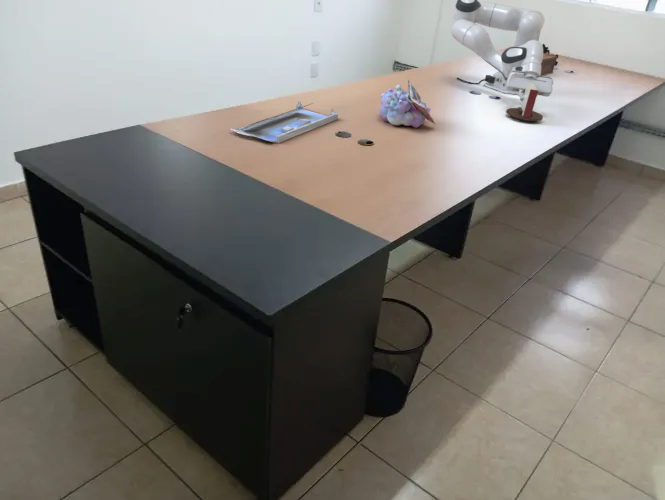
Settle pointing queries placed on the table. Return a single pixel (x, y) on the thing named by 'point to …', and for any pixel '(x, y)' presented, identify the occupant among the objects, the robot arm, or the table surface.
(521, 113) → the upright block on disc
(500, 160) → the table surface
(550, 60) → the tissue box cover
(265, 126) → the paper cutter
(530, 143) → the table surface
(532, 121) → the stand base
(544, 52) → the tablet mount
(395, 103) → the lilac bumpy lump
